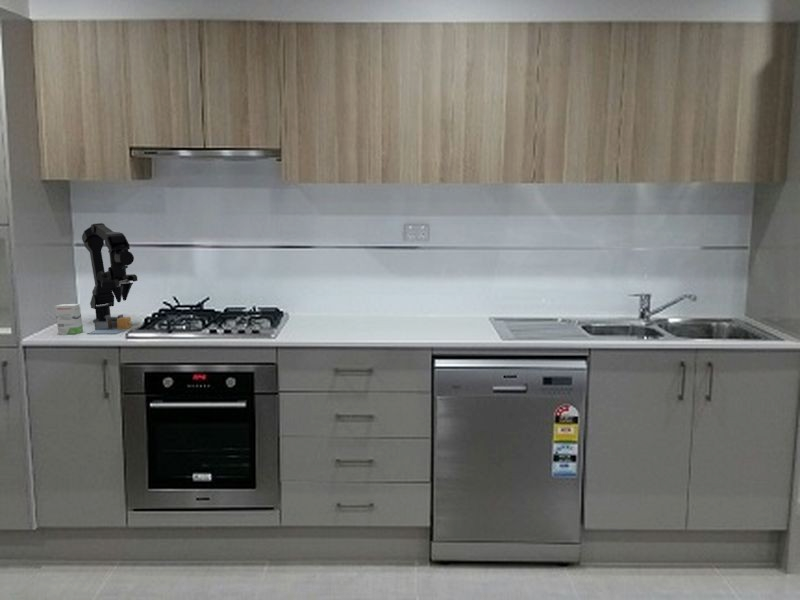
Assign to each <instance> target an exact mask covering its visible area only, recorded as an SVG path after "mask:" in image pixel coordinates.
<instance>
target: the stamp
mask: <svg viewBox="0 0 800 600" xmlns="http://www.w3.org/2000/svg"><path fill="white" fill-rule="evenodd" d="M132 324H133V321H132V318H131V317H130V316H123V317H121V318H118V319H117V321H115V322H111V325H112V329H117V330H123V329H129V328H132Z"/></svg>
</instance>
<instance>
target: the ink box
mask: <svg viewBox="0 0 800 600" xmlns="http://www.w3.org/2000/svg"><path fill="white" fill-rule="evenodd" d="M80 305H81V304H80V303H70V304H69V303H68V304H67V303H65V304H64V303H63V304H57V305H54V309H55V317H56V325H57V332H58V333H57V335H78V334H80V333H83V332H84V328H83V321H82V320H83V319H82V312H81V306H80Z"/></svg>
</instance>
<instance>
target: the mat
mask: <svg viewBox="0 0 800 600" xmlns="http://www.w3.org/2000/svg"><path fill="white" fill-rule="evenodd" d="M123 332H126V329H111V330H95V329H94V330H92V331H89V332H87V333H86V335H118V334H120V333H123Z"/></svg>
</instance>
